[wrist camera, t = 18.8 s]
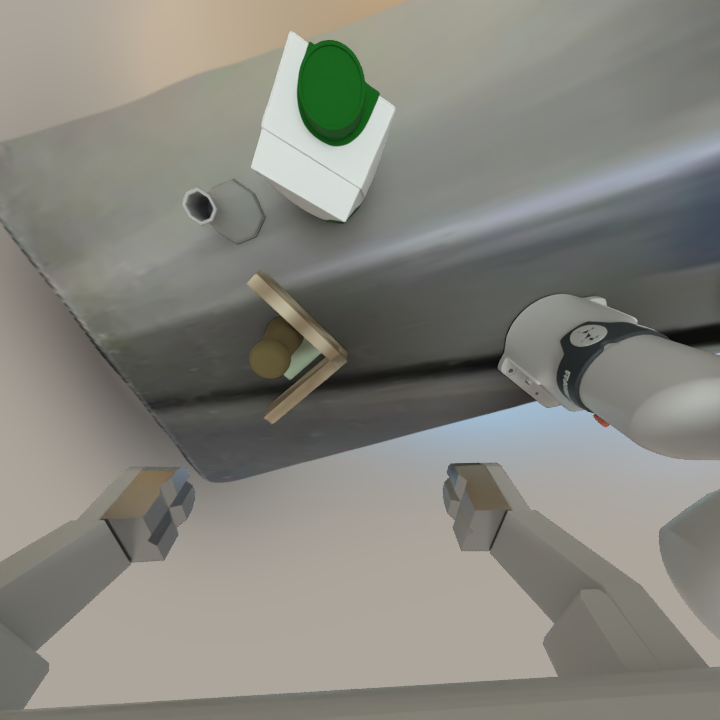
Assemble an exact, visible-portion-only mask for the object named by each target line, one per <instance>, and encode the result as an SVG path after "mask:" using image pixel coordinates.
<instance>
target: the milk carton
mask: <svg viewBox="0 0 720 720" xmlns="http://www.w3.org/2000/svg"><path fill="white" fill-rule="evenodd" d="M379 95H380V93H379V92H378V91H377V90H375V89H374V88H372V87H371V86H370V85H368V84H367V83H366V82H365V79H364V74H363V70H362V67H361V65H360V63H359V61H358V59H357V57H356V55H355V54H354V53H353V52H352V51H351V50H350V49H349V48H348V47H347V46H346V45H344V44H342V43H340V42H338V41H334V40H325V41H321V42H319V43H317V44H315V45H314V44H313V43H311V42H309V43H307V42H306V41H305V40H303V39H302V38H301V37H300V36H298V35H297V34H295V33H294V32H293V31H291V32H289V35H288V39H287V42H286V45H285V48H284V52H283V55H282V58H281V62H280V65H279V68H278V71H277V75H276V78H275V81H274V85H273V88H272V91H271V95H270V98H269V102H268V105H267V107H266V109H265V113H264V116H263V119H262V123H261V129H262V131H261V134H260V138H259V141H258V144H257V148H256V151H255V155H254V158H253V162H252V165H251V168H252V169H253V170H254V171H256V172H257V173H258V174H259V175H260V176H262V177H263V178H264V179H265V180H266V181H267V182H269V183H270V184H271V185H272V186H273V187H275V188H276V189H277V190H278V191H279V192H280V193H281V194H283V195H284V196H285V197H286V198H287V199H289V200H290V201H291V202H293V203H294V204H296V205H297V206H298V207H300V208H301V209H303V210H305V211H306V212H308V213H310V214H312V215H314V216H316V217H318V218H320V219H322V220H325V221H328V222H338V223H345V222H346V221H347V220H348V219H349V218H350V217H351V216H352V215H353V214H354V213H355V211H356V210H357V209H358V208H359V207H360V205H361V203H362V202H363V200H364V198H365V196H366V194H367V192H368V190H369V188H370V185H371V183H372V180H373V178H374V176H375V173H376V170H377V168H378V165H379V163H380V159H381V156H382V153H383V150H384V147H385V144H386V141H387V137H388V134H389V130H390V127H391V123H392V120H393V116H394V113H395V106H393V105H392V104H391V103H389V102H388V101H386V100H385V99H383V98H382V97H380V96H379Z"/></svg>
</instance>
